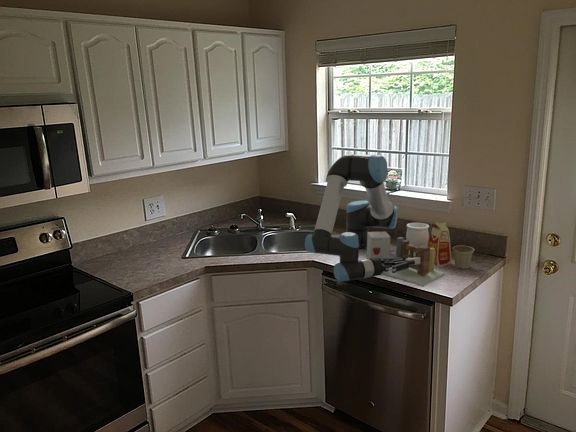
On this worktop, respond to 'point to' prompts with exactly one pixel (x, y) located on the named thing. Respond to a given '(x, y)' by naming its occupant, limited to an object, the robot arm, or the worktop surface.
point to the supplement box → (378, 245)
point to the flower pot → (462, 256)
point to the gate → (420, 252)
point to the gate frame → (411, 274)
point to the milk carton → (440, 244)
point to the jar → (417, 234)
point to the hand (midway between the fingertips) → (419, 260)
